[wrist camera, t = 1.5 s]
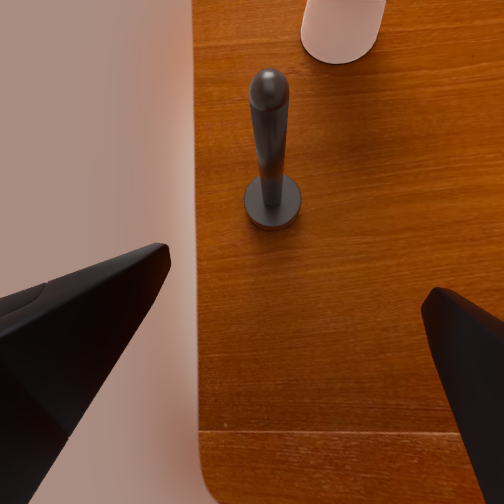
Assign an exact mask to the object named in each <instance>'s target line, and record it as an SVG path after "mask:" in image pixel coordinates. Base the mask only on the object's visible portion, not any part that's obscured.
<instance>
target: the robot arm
mask: <svg viewBox="0 0 504 504" xmlns="http://www.w3.org/2000/svg"><path fill="white" fill-rule="evenodd" d="M170 268H171V259H170V252H169V247H168V245H166V244H162V243H154V244H151V245H148V246H145V247H142V248H140V249H137V250H134V251H131V252H129V253H126V254H123V255H120V256H118V257H115V258H112V259H109V260H106V261H104V262H101V263H98V264H95V265H93V266H90V267H87V268H84V269H82V270H79V271H76V272H73V273H70V274H67V275H65V276H62V277H59V278H56V279H54V280H51V281H49V282H48V283H42V284H40V285H37V286H34V287H31V288H28V289H25V290H23V291H20V292H17V293H14V294H11V295H8V296H5V297H2V298H0V504H28V503H29V501H30V500H31V498H32V497H33V495H34V493H35V492H36V490H37V489H38V487H39V485H40V484H41V482H42V480H43V479H44V477H45V476H46V474H47V473H48V471H49V469H50V468H51V466H52V465H53V463H54V462H55V460H56V458H57V457H58V455H59V453H60V452H61V450H62V449H63V447H64V446H65V444H66V442H67V441H68V437H70V436H71V434H72V433H73V431H74V429H75V428H76V426H77V425H78V423H79V421H80V420H81V418H82V417H83V415H84V413H85V412H86V410H87V408H88V407H89V405H90V404H91V402H92V401H93V399H94V397H95V396H96V394H97V393H98V391H99V390H100V388H101V386H102V385H103V383H104V381H105V380H106V378H107V377H108V375H109V374H110V372H111V370H112V369H113V367H114V366H115V364H116V362H117V361H118V359H119V358H120V356H121V354H122V353H123V351H124V350H125V348H126V346H127V345H128V343H129V342H130V340H131V339H132V337H133V335H134V334H135V332H136V331H137V329H138V327H139V326H140V324H141V323H142V321H143V319H144V318H145V316H146V315H147V313H148V311H149V310H150V308H151V306H152V305H153V303H154V301H155V299H156V297H157V295H158V293H159V291H160V289H161V287H162V285H163V283H164V281H165V279H166V277H167V275H168V272H169V270H170ZM421 314H422V318H423V322H424V326H425V331H426V335H427V339H428V343H429V347H430V351H431V354H432V357H433V360H434V363H435V366H436V369H437V372H438V374H439V377H440V380H441V383H442V385H443V388H444V391H445V393H446V396H447V399H448V402H449V404H450V407H451V410H452V412H453V415H454V418H455V421H456V423H457V426H458V429H459V431H460V434H461V437H462V440H463V442H464V445H465V448H466V451H467V453H468V456H469V459H470V461H471V464H472V467H473V470H474V472H475V475H476V478H477V480H478V483H479V486H480V489H481V491H482V494H483V497H484V499H485V502H486V504H504V322H503V321H501V320H500V319H498V318H496V317H495V316H493V315H491V314H490V313H488V312H487V311H485V310H483V309H482V308H480V307H478V306H477V305H475V304H474V303H472V302H470V301H469V300H467V299H466V298H464V297H462V296H461V295H459V294H457V293H456V292H454V291H453V290H450V289H446V288H440V287H436V288H433V289H432V290H431V292H430V293H429V295H428V296H427V298H426V300H425V301H424V303H423V304H422V307H421Z"/></svg>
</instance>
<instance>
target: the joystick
mask: <svg viewBox="0 0 504 504" xmlns="http://www.w3.org/2000/svg"><path fill="white" fill-rule="evenodd" d="M249 101H250V108H251V116H252V123H253V130H254V137H255V145H256V152H257V159H258V166H259V174H260V176H258V177H256V178H255V179H254V180H253V181H252V182H251V183H250V184H249V185H248V187H247V189H246V191H245V195H244V205H245V209H246V212H247V214H248V217H249V219H250V220H251V222H252V223H253V224H254V225H255V226H256V227H258V228H260V229H262V230H264V231H269V232H275V231H280V230H283V229H285V228H287V227H288V226H289V225H291V224H292V223H293V221H294V220H295V219H296V217H297V214H298V211H299V208H300V205H301V193H300V190H299V188H298V186H297V184H296V183H295V182H294V181H293V180H292V179H291V178H290V177H288V176H287V175H285V174H283V171H284V158H285V145H286V132H287V118H288V105H289V85H288V82H287V79H286V77H285V76H284V75H283V73H282V72H280V71H279V70H277V69H274V68H266V69H263V70H261V71H259V72H258V73H257V74H256V75H255V76H254V78H253V79H252V81H251V84H250V87H249Z"/></svg>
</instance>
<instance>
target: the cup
mask: <svg viewBox="0 0 504 504" xmlns="http://www.w3.org/2000/svg"><path fill="white" fill-rule="evenodd" d="M385 3H386V0H308V1H307V5H306V9H305V13H304V17H303V22H302V26H301V40H302V43H303V46H304V47H305V49H306V50H307V51H308V53H309V54H310V55H312V56H313V57H314V58H316V59H318V60H320V61H323V62H326V63H332V64H340V63H347V62H351V61H354V60H356V59H358V58H360V57H361V56H363V55H365V54H366V53H367V52H368V51H369V50H370V49H371V47H372V46H373V44H374V42H375V41H376V38H377V35H378V31H379V28H380V24H381V20H382V16H383V12H384V8H385Z"/></svg>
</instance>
